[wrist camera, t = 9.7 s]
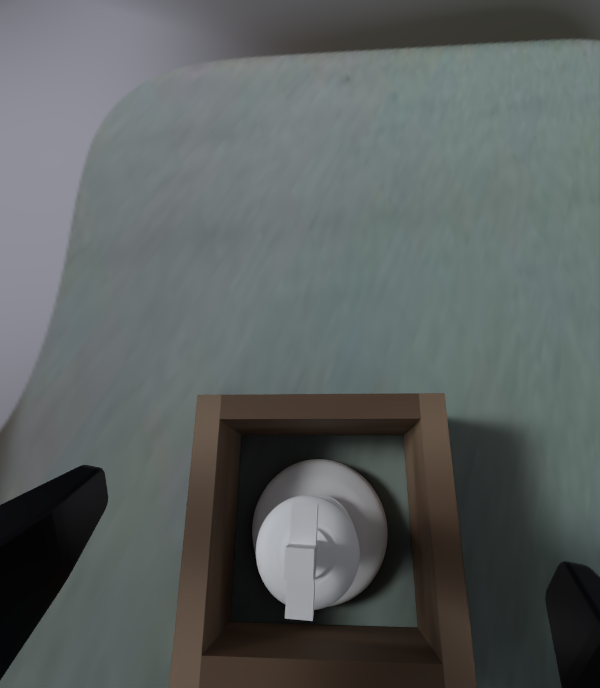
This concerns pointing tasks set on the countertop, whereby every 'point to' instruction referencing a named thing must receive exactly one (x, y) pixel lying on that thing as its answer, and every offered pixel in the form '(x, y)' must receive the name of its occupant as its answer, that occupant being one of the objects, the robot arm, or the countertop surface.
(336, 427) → the walnut collar
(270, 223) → the countertop surface
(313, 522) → the chess piece
